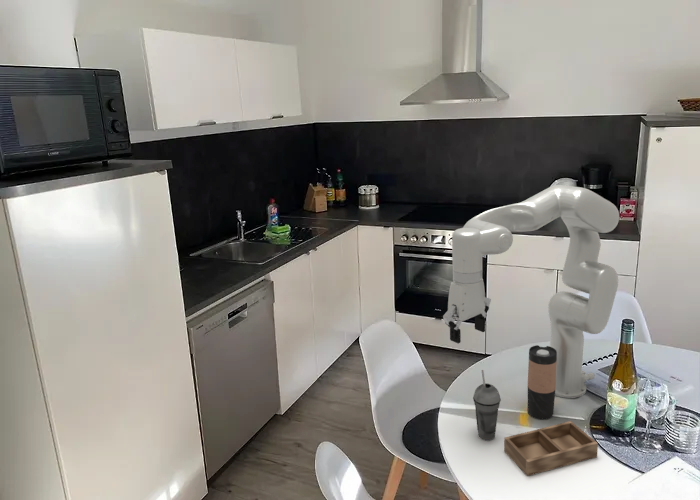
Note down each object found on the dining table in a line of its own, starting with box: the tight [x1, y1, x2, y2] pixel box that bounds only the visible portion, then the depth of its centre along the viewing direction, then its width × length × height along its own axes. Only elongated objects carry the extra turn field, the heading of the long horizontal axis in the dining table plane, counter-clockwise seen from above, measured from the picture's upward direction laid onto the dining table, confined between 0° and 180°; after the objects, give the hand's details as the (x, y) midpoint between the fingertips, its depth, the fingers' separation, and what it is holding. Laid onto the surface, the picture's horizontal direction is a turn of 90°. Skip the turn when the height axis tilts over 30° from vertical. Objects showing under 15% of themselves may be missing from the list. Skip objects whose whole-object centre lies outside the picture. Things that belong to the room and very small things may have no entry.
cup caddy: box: [503, 420, 599, 477], centre depth 144 cm, size 20×11×4 cm, turn 106°
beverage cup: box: [472, 369, 502, 441], centre depth 151 cm, size 7×7×20 cm
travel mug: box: [527, 345, 557, 421], centre depth 160 cm, size 8×8×20 cm
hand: (467, 335), depth 149 cm, fingers open, 9 cm apart
